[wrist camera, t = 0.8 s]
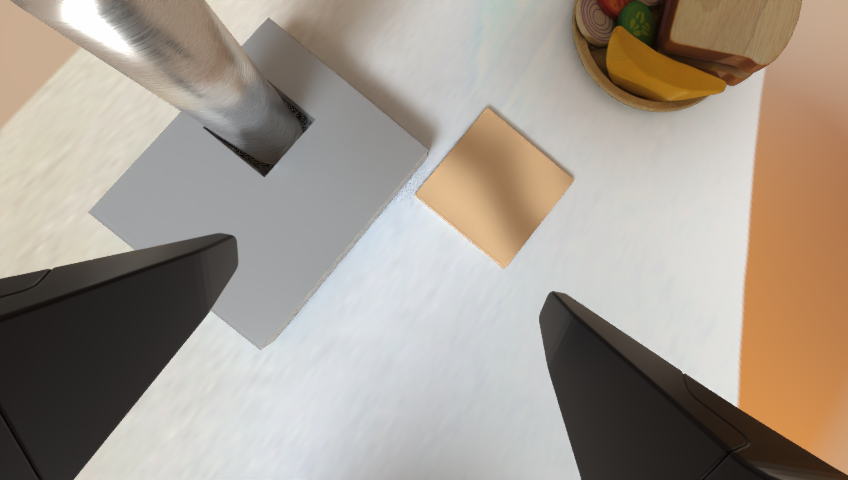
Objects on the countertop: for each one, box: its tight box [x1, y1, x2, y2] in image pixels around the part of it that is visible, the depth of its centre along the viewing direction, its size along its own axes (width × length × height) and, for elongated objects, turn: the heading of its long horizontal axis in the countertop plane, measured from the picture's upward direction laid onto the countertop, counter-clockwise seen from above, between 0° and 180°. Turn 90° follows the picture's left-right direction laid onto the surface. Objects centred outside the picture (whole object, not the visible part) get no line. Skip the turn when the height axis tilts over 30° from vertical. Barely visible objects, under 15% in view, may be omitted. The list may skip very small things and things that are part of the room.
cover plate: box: [88, 17, 428, 350], centre depth 21 cm, size 16×13×2 cm
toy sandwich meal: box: [572, 0, 802, 112], centre depth 22 cm, size 12×14×5 cm
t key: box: [11, 0, 303, 164], centre depth 15 cm, size 4×6×15 cm, turn 96°
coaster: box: [415, 107, 574, 268], centre depth 23 cm, size 8×8×1 cm
